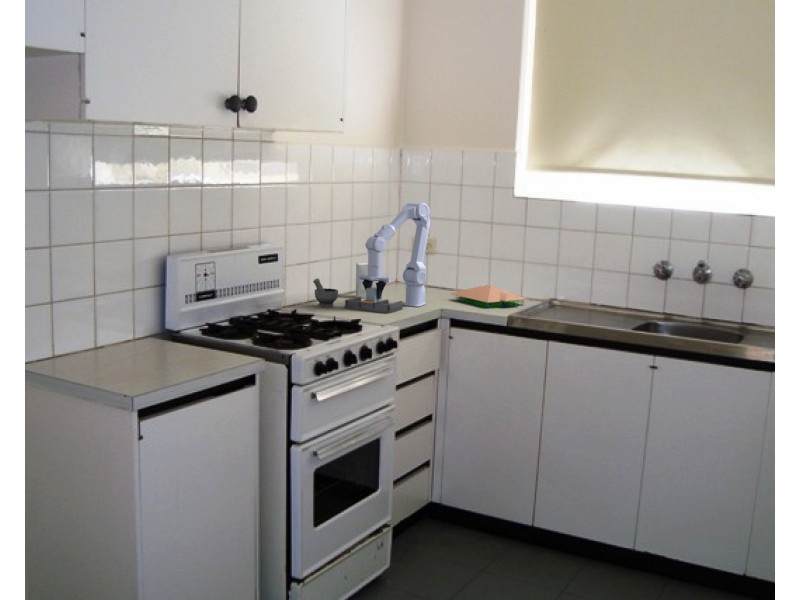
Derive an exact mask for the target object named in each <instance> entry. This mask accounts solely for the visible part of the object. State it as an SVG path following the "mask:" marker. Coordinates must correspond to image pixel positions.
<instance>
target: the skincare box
mask: <svg viewBox="0 0 800 600" xmlns="http://www.w3.org/2000/svg"><path fill="white" fill-rule="evenodd" d="M358 275H368V262H355V297H359V296H360V297H361V299H366V290H365V287H364V285H363V284H362V282H363V281H364V280H358ZM372 280H377V279H372ZM376 283H377V281H373V283H372V287H376Z"/></svg>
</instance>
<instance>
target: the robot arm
mask: <svg viewBox="0 0 800 600" xmlns="http://www.w3.org/2000/svg"><path fill="white" fill-rule="evenodd" d="M401 209H402V210H401V211H400V212H399V213H398V214H397V215H396V217H394V219H393V220H392V221H391V222H390V223H389V224H388V223H387V224H386V223H385V224H383V225H382V226H381V228H380V229H379V230H378V231H377V232H375V233H374V235H373V236H370V237H368V238H367V240H366V242H365V248H366V250H367V263H368V275H358V280H364V281H363V282H362V284H363V285H364V287H365V290H366V288H371V287H372V283H373V281H376V287H377V299H381V295H382V296H383V293H384V292H383V291H384V288H385V287H386V285H387V283H388V284H389V283H392V277H389V276H388V277H387V276H384V275H383V276H382V270H383V269H382V267H383V261H382V260H383V250H385V247H386V245H387V243H388V242H389V241H390V240H391V239H392V238H393V237H394V236H395V235H396V230H397V229H398V228H400V227H401V226H402V225H404V224H405V222H407V220H412V221H413V222H414V224H415V225H416V228H415V234H414V240H413V245H412V250H411V251H412V252H411V256H410V261H409V262H408V263H407V264H406V265H405V269H404V270H403V273H402V278H403V281H404V282H405V302H404V303H403V302H402V306H408V307H416V308H418V307H421V306H426V305H428V303H427V302H426V288H425V286H424V285H425V283H426V282H427V277H428V276H427V267H426V266H425V264H424V261H425V254H426V250H427V243H428V239H429V237H428V236H429V232H430V227H431V219H430V213H431V208H430V207H429V206H428V204H426V203H425V202H415V201H414V202H413V201H409V202H407V203H406V204H405V205H403V206H402V208H401ZM372 279H376V280H372Z"/></svg>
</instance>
